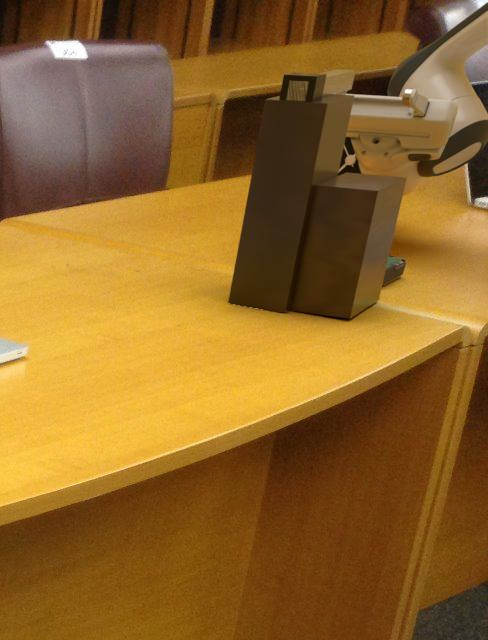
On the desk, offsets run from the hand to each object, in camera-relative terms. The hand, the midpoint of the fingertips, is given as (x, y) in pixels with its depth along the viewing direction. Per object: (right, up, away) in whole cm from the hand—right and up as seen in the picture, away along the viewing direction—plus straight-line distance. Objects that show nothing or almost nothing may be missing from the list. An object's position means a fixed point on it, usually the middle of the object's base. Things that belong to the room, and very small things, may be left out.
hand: (373, 91), depth 218 cm
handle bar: (-17, -8, -20) cm, 27 cm away
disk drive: (-3, -25, +5) cm, 26 cm away
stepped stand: (-15, -33, -11) cm, 37 cm away
